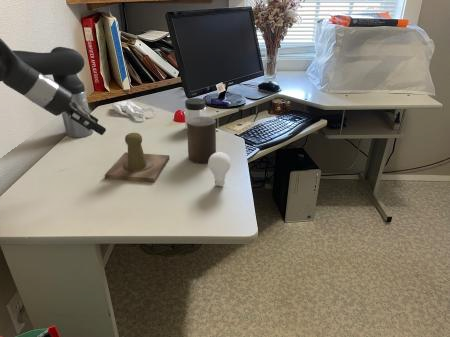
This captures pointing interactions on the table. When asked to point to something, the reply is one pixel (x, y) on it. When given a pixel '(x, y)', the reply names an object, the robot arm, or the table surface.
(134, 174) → the walnut board
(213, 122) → the pillar candle
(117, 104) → the superhero figure
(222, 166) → the light bulb
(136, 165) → the cork
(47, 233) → the table surface
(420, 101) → the table surface
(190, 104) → the jar
